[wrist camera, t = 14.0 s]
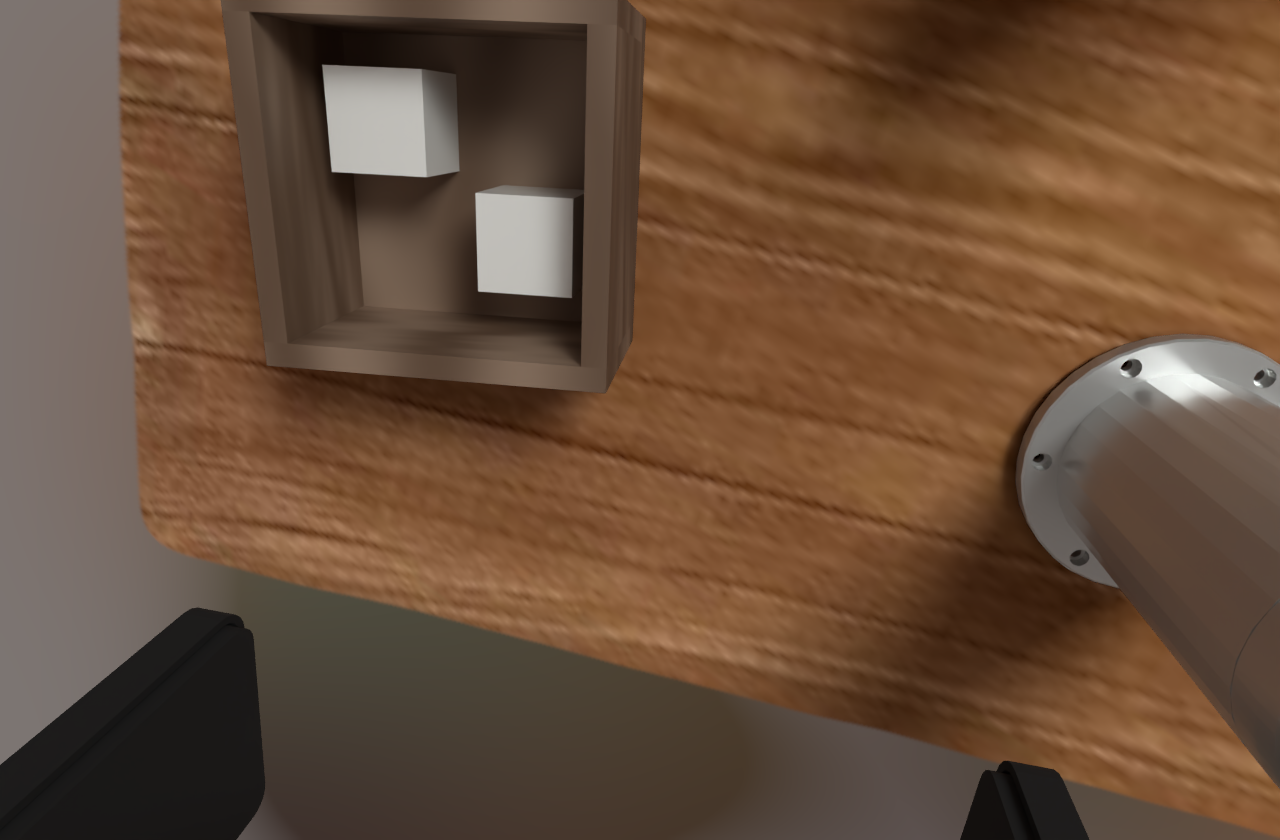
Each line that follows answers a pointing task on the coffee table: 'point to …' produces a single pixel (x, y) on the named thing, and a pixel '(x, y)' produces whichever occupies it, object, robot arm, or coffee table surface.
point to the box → (440, 186)
